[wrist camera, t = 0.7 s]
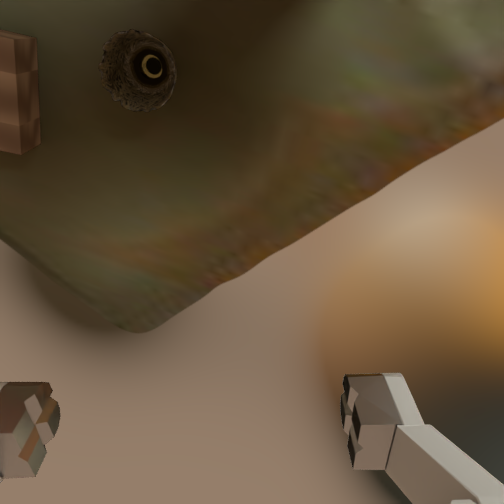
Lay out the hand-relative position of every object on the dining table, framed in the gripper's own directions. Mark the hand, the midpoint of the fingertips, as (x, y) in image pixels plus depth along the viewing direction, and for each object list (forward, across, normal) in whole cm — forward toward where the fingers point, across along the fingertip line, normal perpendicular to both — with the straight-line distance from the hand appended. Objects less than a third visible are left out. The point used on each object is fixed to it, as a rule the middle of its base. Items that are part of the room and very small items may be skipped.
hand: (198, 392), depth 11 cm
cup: (+43, +9, -4) cm, 44 cm away
